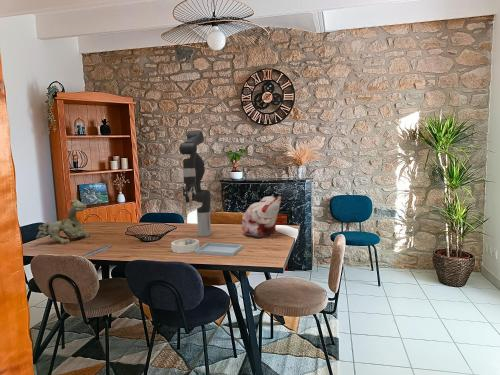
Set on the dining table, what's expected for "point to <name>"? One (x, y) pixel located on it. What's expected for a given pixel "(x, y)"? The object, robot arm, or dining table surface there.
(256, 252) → the dining table surface
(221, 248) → the tray
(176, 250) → the bowl
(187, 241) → the stone slate
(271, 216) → the sculpture
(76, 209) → the sculpture
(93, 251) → the plaque
